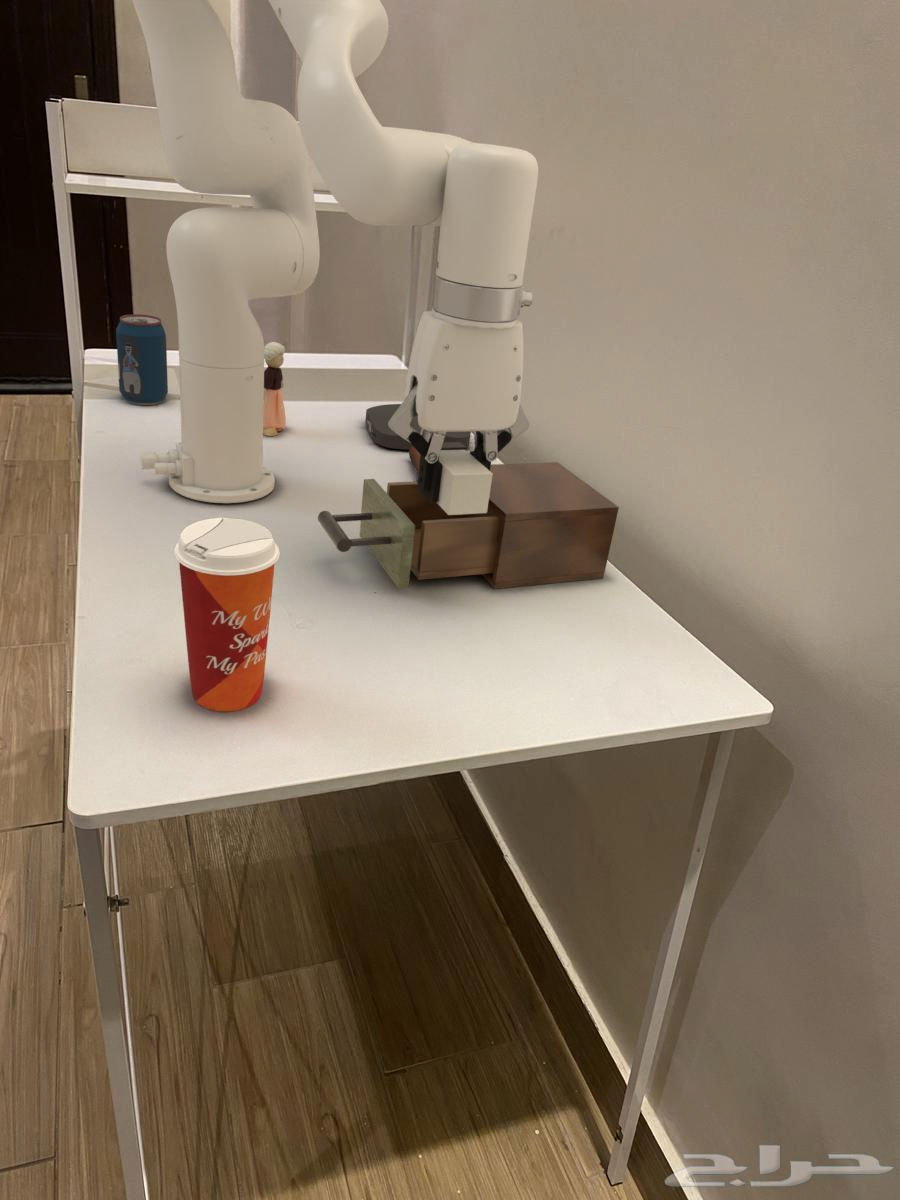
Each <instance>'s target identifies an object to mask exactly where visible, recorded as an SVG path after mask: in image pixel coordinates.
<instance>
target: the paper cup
mask: <svg viewBox="0 0 900 1200" xmlns="http://www.w3.org/2000/svg"><path fill="white" fill-rule="evenodd" d="M280 553H281V552H280V548H279V546H278V544H276V542H275V539H274V537H273V535H272V533H271V531H270V530H269V529H268V528H267V527H266V526H264V525H261V524H259V523H257V522H255V521H251V520H247V519H242V518H234V517H233V518H232V517H231V518H230V517H214V518H207V519H203V520H198V521H196V522H193V523H191V524H189V525H187V526H186V527H185V528H184V529H182V531H181V533H180V535H179V539H178V541H177V543H176V545H175V547H174V550H173V554H174V557H175V559H176V560H177V561H178V565H179V575H180V584H181V585H180V588H181V596H182V597H181V598H182V606H183V608H182V609H183V619H184V620H183V621H184V630H185V639H186V641H185V642H186V652H187V662H188V672H189V682H190V689H191V694H192V698H193V700H194V701H195V702H196V704H198V705H200V706H201V707H202V708H205V709H207V710H211V711H215V712H236V711H240V710H244V709H247V708H249V707H251V706H253V705H254V704H255V703H257V702H258V701H259V700H260V698H261V696H262V692H263V687H264V679H265V671H266V661H267V660H266V659H267V650H268V639H269V629H270V619H271V608H272V597H273V587H274V586H273V585H274V574H275V564H276V562H277V561H278V560H279V558H280Z"/></svg>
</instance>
